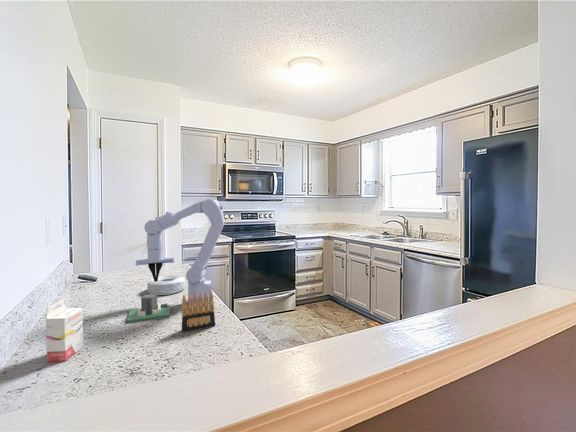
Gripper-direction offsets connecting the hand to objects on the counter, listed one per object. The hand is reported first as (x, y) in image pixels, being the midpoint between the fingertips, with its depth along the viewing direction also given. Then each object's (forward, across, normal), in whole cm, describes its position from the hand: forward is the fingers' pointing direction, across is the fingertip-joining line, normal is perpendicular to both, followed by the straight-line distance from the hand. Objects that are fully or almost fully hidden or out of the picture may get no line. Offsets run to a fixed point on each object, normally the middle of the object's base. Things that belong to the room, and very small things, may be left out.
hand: (155, 281), depth 127 cm
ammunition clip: (+10, -14, +33) cm, 37 cm away
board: (+9, +2, +13) cm, 16 cm away
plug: (+8, +2, +13) cm, 16 cm away
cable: (+10, -4, -18) cm, 21 cm away
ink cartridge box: (+10, +22, +37) cm, 44 cm away
